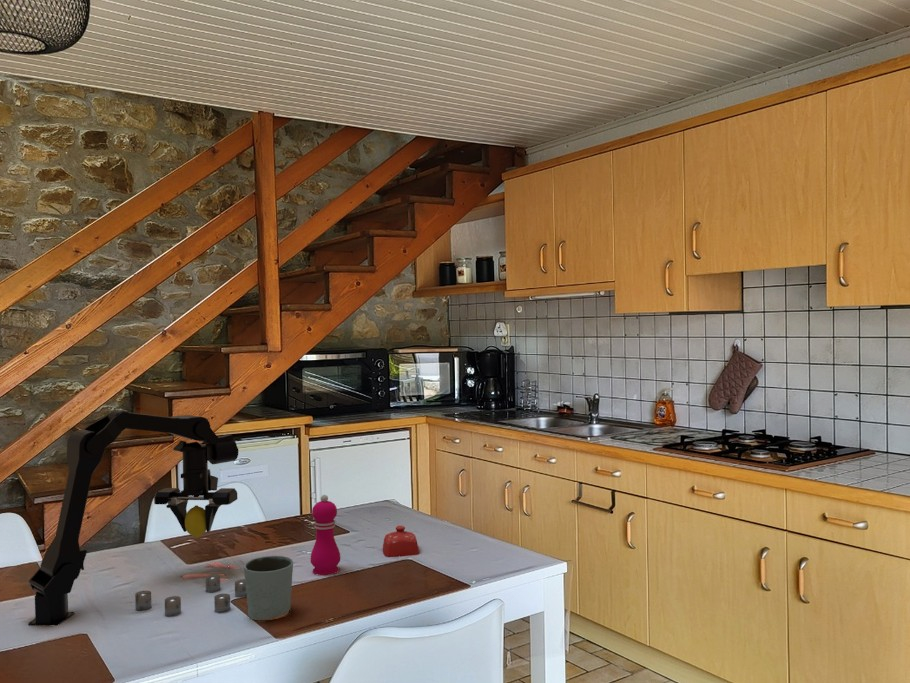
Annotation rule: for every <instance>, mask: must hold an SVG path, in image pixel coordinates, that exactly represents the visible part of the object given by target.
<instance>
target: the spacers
mask: <svg viewBox="0 0 910 683" xmlns="http://www.w3.org/2000/svg"><path fill="white" fill-rule="evenodd" d="M211 574H212V575H208V576H206V577H205V592H206V593H209V594H210V593H212V594H213V593H217V592H220V591H221V582H220V578H221V576H220V575H219V574H217V573H216V574H215V573H211ZM234 597H236V598H245V597H246V598H247V593H246V583H245V578H242V579H237V580H235V581H234ZM134 598H135V599H134V600H135V603H134V604H135V611H136V612H145V611H149V610H151V609H152V591H151V590H141V591H138V592H135V594H134ZM213 601H214V613H216V614H222V613H227V612H229V611H231V594H229V593H219V594H217V595H214V600H213ZM181 613H182V600H181V596H176V595H175V596H174V595H173V596H172V595H171V596H169V597H166V598H164V616H165V617H176V616H179V615H180V614H181Z"/></svg>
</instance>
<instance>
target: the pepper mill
mask: <svg viewBox="0 0 910 683" xmlns="http://www.w3.org/2000/svg"><path fill="white" fill-rule="evenodd" d="M328 499H329V496H328V495H326V494H322V495H321V497H320V501H318V502H316V503H315V504H314V505H313V507H312V510H311V514H312V518H313V519H314V520H315V521H314V522H313V523H314V524H313V525H314V528H315V530H316V531H315V532H316V535H315V536H316V537H315V542H314V545H313V548H312V550H311V554H310V564H311V565H312V566H313V569H312V574H314V575H316V574H318V575H317V576H326V575H325V574H330V575H333V574H332V573H334V574H336V573H338V572H339V571H338V570H339V569H340V568H339V567H338V565H339V564H340V562H341V552H340V549H339V546H338V545H337V543H336V540H335V535H334V534H335V533H334V531H335V530H334V528H335V527H336V524H335V523H336V520H335V518H336V517H337V514H338V508H337V506H336V504H335V503H334V502H332V501H331V500H330V501H329V500H328ZM337 571H338V572H337ZM335 572H336V573H335ZM319 574H320V575H319Z"/></svg>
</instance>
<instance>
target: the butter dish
mask: <svg viewBox="0 0 910 683" xmlns="http://www.w3.org/2000/svg"><path fill="white" fill-rule="evenodd" d="M405 529H406V527H405V526H403V525H397V526H396V527H395V531H391V532H389V533H387V534H385V536H384V537H383V544H382V554H383V555H384V557H386V558H397V557H398V558H400V557H409V556H410V557H411V556H418V555H419V554H420V549H419V545H418V542H417V537H416V535H415V534H414V533H413V532H410V531H405ZM399 556H400V557H399Z"/></svg>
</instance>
